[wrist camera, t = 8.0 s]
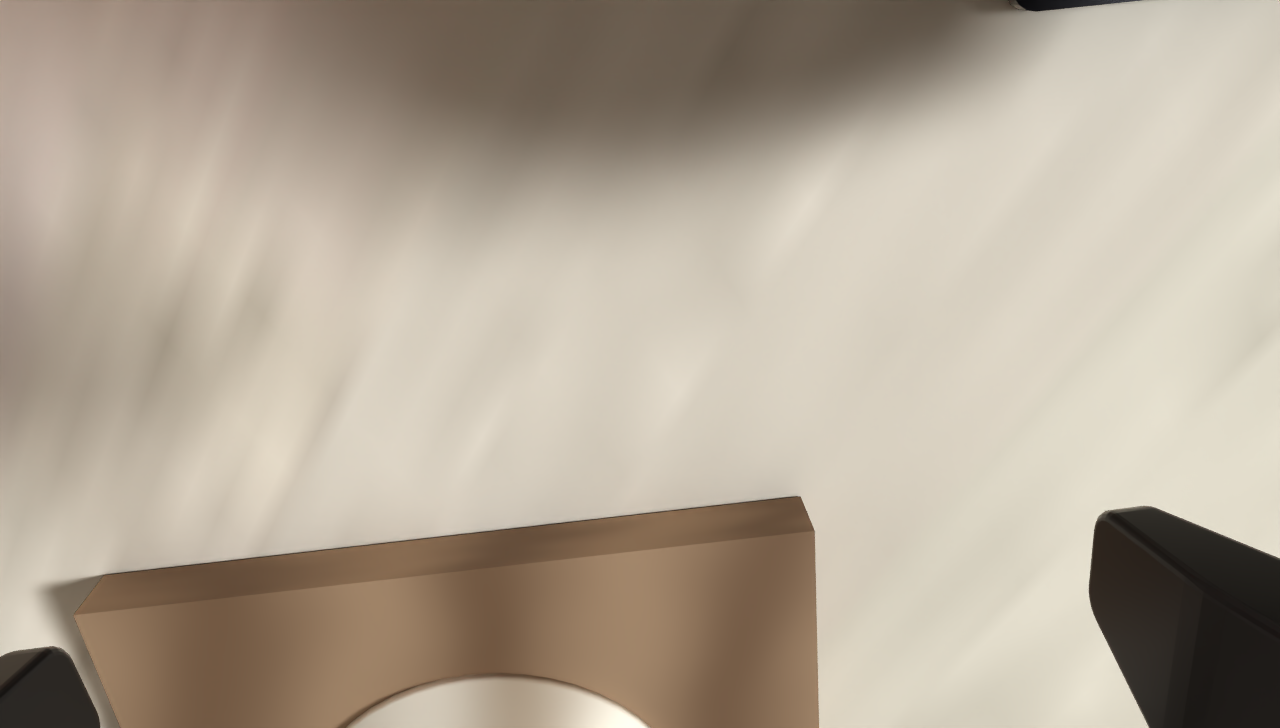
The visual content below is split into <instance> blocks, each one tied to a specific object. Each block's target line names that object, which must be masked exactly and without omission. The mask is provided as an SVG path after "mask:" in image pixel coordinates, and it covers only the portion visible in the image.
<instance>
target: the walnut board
mask: <svg viewBox="0 0 1280 728" xmlns="http://www.w3.org/2000/svg"><path fill="white" fill-rule="evenodd" d="M73 616H74V618H75V621H76V623H77V626H78V628H79V630H80V633H81V635H82V637H83V640H84V642H85V645H86V647H87V649H88V652H89V654H90V656H91V659H92V661H93V664H94V666H95V668H96V671H97V673H98V676H99V678H100V680H101V683H102V685H103V687H104V690H105V692H106V695H107V697H108V699H109V702H110V704H111V706H112V709H113V711H114V714H115V716H116V718H117V721H118V723H119V725H120V728H819V708H818V663H817V618H816V573H815V531H814V528H813V526H812V523H811V521H810V519H809V516H808V514H807V511H806V509H805V506H804V504H803V502H802V499H801V497H791V498H783V499H774V500H765V501H756V502H747V503H738V504H730V505H721V506H712V507H703V508H694V509H685V510H677V511H668V512H659V513H650V514H641V515H632V516H624V517H615V518H606V519H597V520H588V521H579V522H571V523H562V524H553V525H544V526H535V527H526V528H518V529H509V530H500V531H491V532H482V533H473V534H465V535H456V536H447V537H438V538H429V539H421V540H412V541H403V542H394V543H385V544H376V545H368V546H359V547H350V548H341V549H332V550H323V551H315V552H306V553H297V554H288V555H279V556H270V557H262V558H253V559H244V560H235V561H226V562H217V563H209V564H200V565H191V566H182V567H173V568H164V569H156V570H147V571H138V572H129V573H120V574H111V575H104V576H103V577H102V579H101V580H100V581H99V582H98V584H97V585H96V586H95V588H94V589H93V590H92V591H91V593H90V594H89V595H88V597H87V598H86V599H85V601H84V602H83V603H82V604H81V606H80V607H79V608H78V610H77V611H76V612H75V614H74V615H73Z"/></svg>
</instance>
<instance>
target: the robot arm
mask: <svg viewBox="0 0 1280 728" xmlns="http://www.w3.org/2000/svg"><path fill="white" fill-rule="evenodd" d="M1008 1H1009V3H1010V4H1011V5H1012V6H1014V7H1015V8H1017V9H1020V10H1029V11H1044V10H1054V9H1064V8H1073V7H1083V6H1092V5H1102V4H1111V3H1121V2H1130V1H1140V0H1008ZM1089 598H1090V603H1091V607H1092V611H1093V614H1094V616H1095V618H1096V621H1097V623H1098V625H1099V627H1100V629H1101V631H1102V633H1103V635H1104V637H1105V639H1106V641H1107V643H1108V645H1109V647H1110V649H1111V651H1112V653H1113V655H1114V657H1115V659H1116V661H1117V663H1118V665H1119V667H1120V669H1121V671H1122V674H1123V676H1124V678H1125V680H1126V682H1127V684H1128V686H1129V688H1130V690H1131V692H1132V694H1133V696H1134V698H1135V700H1136V702H1137V704H1138V706H1139V708H1140V710H1141V712H1142V714H1143V716H1144V718H1145V720H1146V722H1147V724H1148V726H1149V728H1280V558H1277V557H1275V556H1272V555H1270V554H1268V553H1265V552H1263V551H1260V550H1258V549H1255V548H1253V547H1250V546H1248V545H1245V544H1243V543H1241V542H1238V541H1236V540H1233V539H1231V538H1228V537H1226V536H1223V535H1221V534H1218V533H1216V532H1214V531H1211V530H1209V529H1206V528H1204V527H1201V526H1199V525H1196V524H1194V523H1191V522H1189V521H1187V520H1184V519H1182V518H1179V517H1177V516H1174V515H1172V514H1169V513H1167V512H1164V511H1162V510H1160V509H1157V508H1154V507H1151V506H1139V507H1131V508H1123V509H1116V510H1108V511H1105V512H1104V513H1102V514H1101V515H1100V516H1099V517H1098V519H1097V521H1096V524H1095V529H1094V538H1093V548H1092V559H1091V570H1090V580H1089ZM0 728H100V722H99V716H98V714H97V711H96V709H95V707H94V705H93V703H92V701H91V698H90V696H89V694H88V692H87V690H86V688H85V686H84V684H83V682H82V679H81V677H80V675H79V673H78V671H77V669H76V667H75V665H74V663H73V661H72V659H71V657H70V655H69V654H68V653H67V652H65V651H64V650H63V649H61V648H58V647H54V646H50V647H42V648H34V649H26V650H18V651H13V652H10V653H7V654H5V655H3V656H1V657H0Z"/></svg>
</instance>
